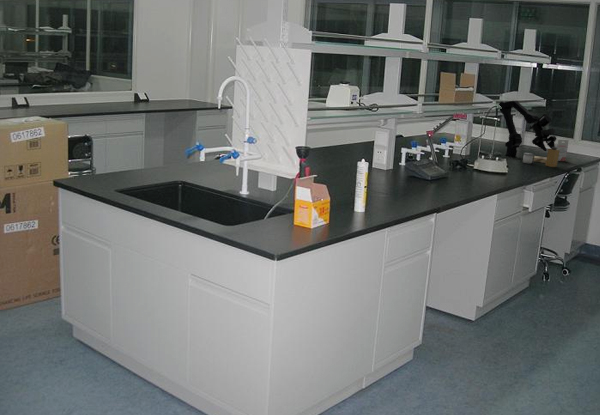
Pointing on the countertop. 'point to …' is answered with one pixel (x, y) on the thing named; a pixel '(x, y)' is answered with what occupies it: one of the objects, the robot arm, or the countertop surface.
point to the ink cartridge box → (562, 149)
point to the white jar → (528, 157)
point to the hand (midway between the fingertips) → (550, 150)
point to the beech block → (539, 159)
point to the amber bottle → (552, 157)
